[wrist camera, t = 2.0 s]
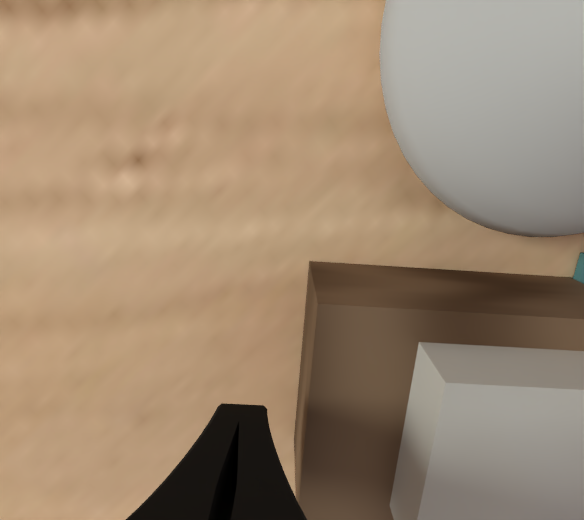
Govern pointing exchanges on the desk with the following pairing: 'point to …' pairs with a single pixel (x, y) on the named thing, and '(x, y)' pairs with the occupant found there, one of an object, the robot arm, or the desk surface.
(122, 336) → the desk surface
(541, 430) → the tile
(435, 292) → the block
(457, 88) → the flower in vase
